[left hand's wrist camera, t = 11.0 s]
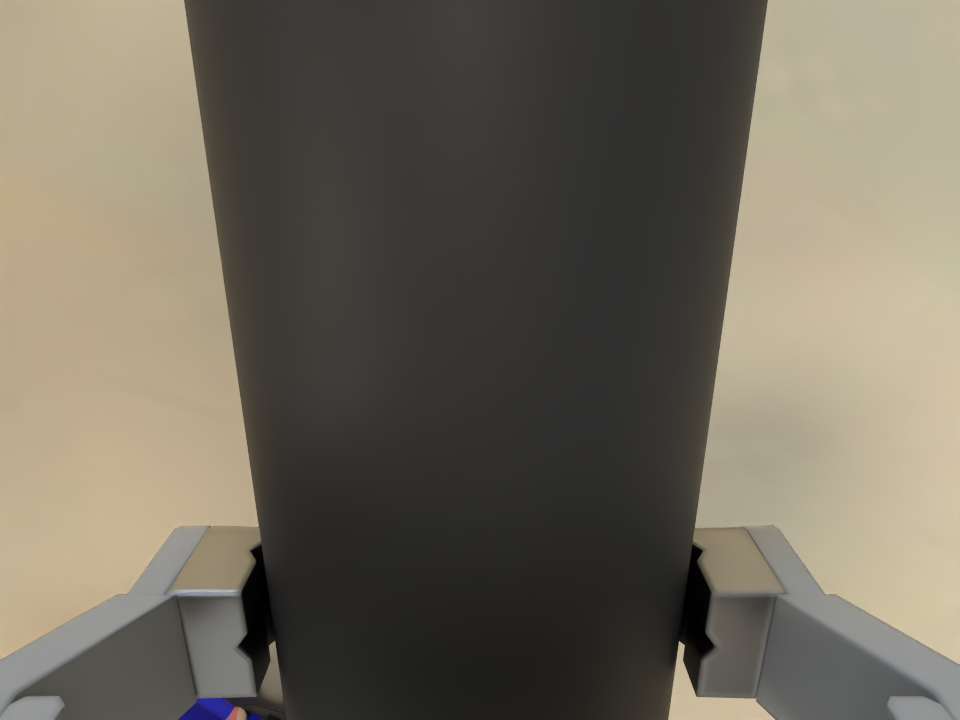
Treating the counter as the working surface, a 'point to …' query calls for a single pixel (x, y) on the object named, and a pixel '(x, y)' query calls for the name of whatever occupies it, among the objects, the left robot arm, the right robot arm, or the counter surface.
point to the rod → (476, 334)
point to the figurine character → (228, 711)
